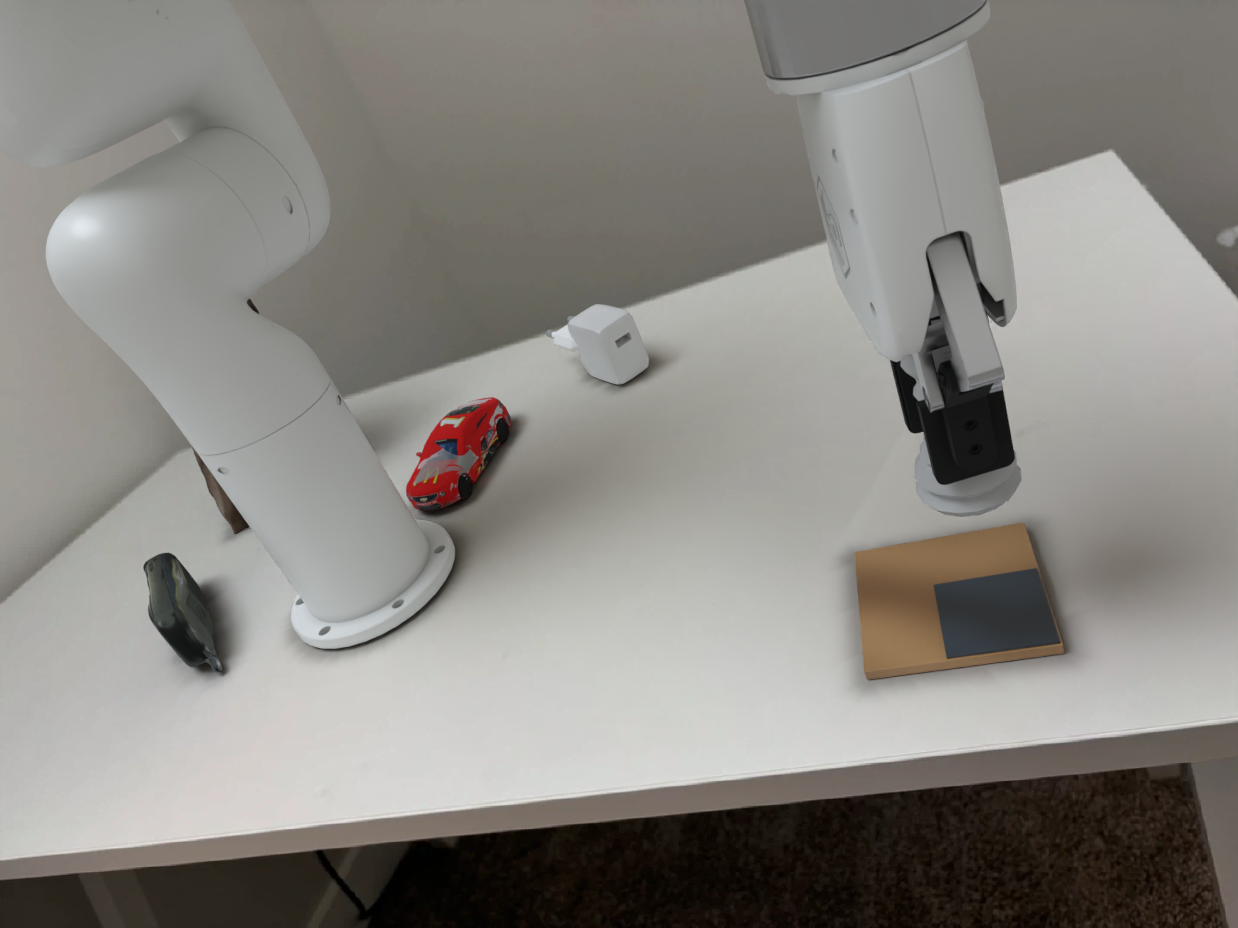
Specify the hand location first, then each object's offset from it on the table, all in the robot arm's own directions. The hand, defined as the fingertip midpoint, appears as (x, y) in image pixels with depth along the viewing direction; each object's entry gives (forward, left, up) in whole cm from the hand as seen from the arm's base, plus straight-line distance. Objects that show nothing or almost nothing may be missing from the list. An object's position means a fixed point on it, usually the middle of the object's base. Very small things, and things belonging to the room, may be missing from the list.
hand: (957, 442), depth 41 cm
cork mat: (-3, 0, -11) cm, 11 cm away
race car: (-46, -8, -11) cm, 48 cm away
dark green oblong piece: (-48, -32, -11) cm, 59 cm away
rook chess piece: (0, 0, -3) cm, 3 cm away
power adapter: (-47, +8, -11) cm, 49 cm away
